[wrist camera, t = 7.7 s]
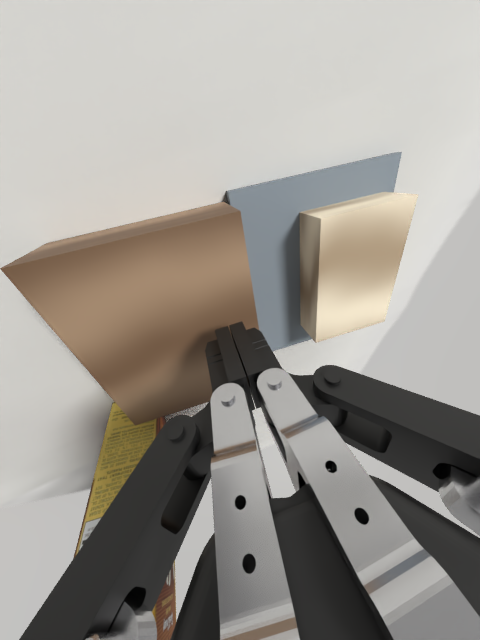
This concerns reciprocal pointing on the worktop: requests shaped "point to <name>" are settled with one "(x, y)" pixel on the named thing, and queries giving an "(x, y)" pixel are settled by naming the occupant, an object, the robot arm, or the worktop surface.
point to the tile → (351, 261)
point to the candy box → (111, 473)
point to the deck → (145, 303)
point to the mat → (296, 234)
